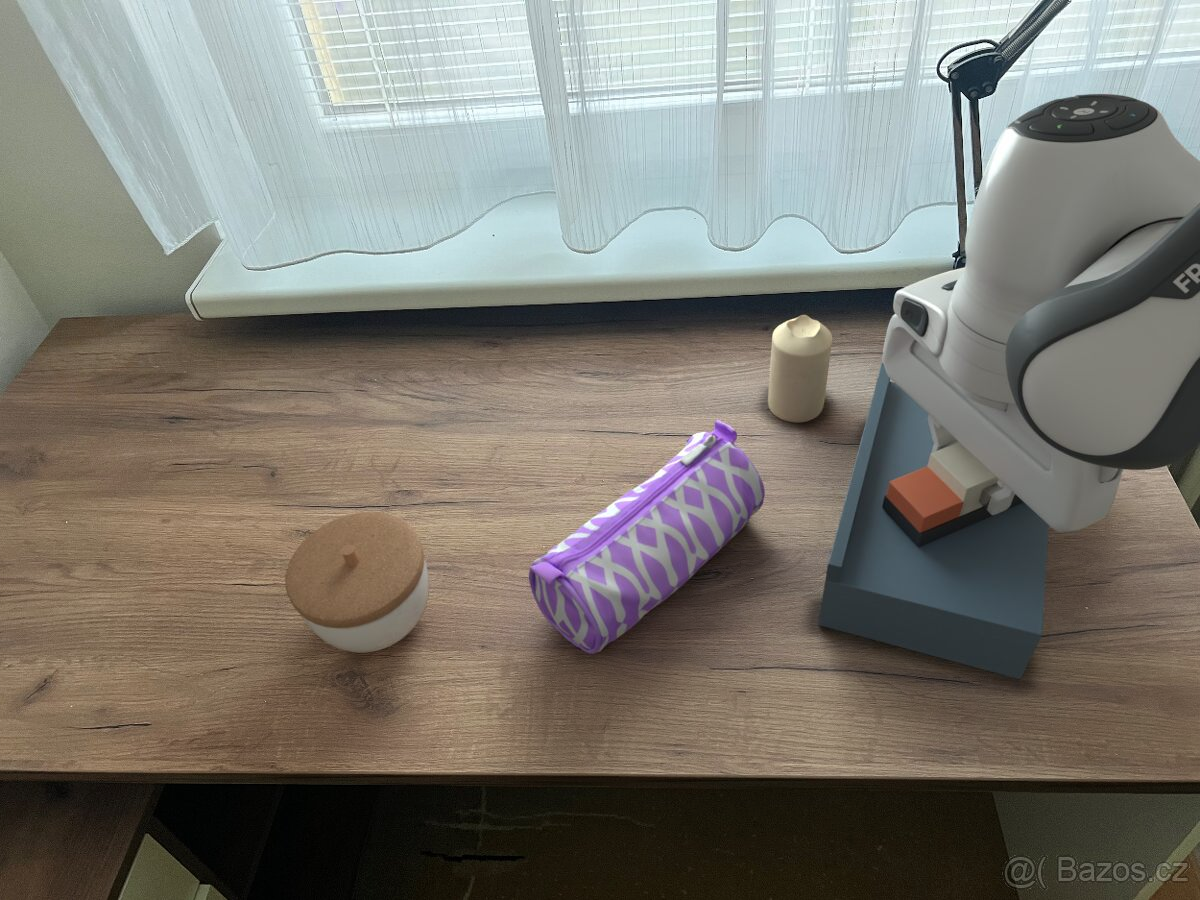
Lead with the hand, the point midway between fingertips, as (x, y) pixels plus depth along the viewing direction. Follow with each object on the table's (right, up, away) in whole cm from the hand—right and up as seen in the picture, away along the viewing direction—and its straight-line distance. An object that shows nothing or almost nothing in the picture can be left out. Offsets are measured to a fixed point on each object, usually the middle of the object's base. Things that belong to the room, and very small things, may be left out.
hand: (967, 482), depth 68 cm
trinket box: (-47, -12, +6) cm, 49 cm away
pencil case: (-24, -8, +7) cm, 26 cm away
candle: (-9, +7, +20) cm, 23 cm away
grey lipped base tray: (0, -5, +7) cm, 8 cm away
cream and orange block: (0, -2, +1) cm, 2 cm away
